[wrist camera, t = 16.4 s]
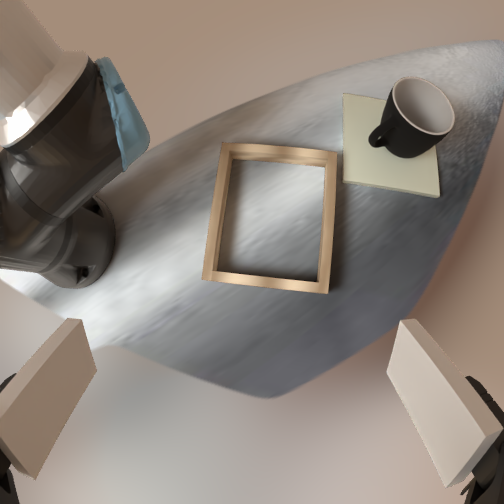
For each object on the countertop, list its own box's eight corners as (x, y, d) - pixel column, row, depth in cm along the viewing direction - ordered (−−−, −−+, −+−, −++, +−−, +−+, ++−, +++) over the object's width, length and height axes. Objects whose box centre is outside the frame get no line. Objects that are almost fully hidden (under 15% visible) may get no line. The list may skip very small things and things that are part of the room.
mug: (403, 108, 40) (426, 70, 30) (436, 155, 39) (467, 124, 29) (344, 131, 41) (358, 91, 31) (377, 184, 39) (403, 153, 29)
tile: (342, 182, 41) (343, 180, 40) (342, 96, 42) (343, 93, 41) (436, 198, 39) (439, 196, 38) (427, 114, 41) (430, 111, 40)
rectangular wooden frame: (206, 280, 40) (201, 279, 38) (225, 151, 43) (222, 142, 40) (324, 293, 39) (327, 293, 36) (333, 160, 41) (337, 152, 38)
